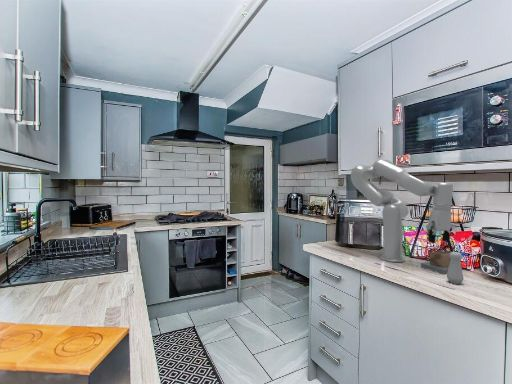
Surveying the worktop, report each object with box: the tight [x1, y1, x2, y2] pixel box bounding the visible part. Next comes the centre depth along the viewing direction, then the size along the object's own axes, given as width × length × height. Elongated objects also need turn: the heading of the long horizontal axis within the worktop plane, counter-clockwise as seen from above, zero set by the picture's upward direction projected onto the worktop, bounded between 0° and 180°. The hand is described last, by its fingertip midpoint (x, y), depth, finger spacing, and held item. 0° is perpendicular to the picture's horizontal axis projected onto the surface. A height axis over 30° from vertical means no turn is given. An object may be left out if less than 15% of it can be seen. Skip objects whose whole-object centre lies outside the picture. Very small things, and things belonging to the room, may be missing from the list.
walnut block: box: [429, 251, 451, 268], centre depth 132 cm, size 6×6×6 cm
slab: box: [420, 261, 463, 275], centre depth 132 cm, size 12×12×2 cm
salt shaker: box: [446, 251, 465, 285], centre depth 114 cm, size 6×6×13 cm
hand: (438, 241), depth 133 cm, fingers open, 9 cm apart
